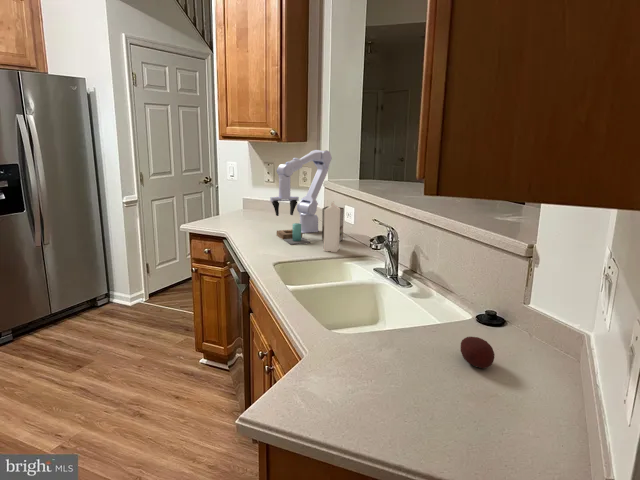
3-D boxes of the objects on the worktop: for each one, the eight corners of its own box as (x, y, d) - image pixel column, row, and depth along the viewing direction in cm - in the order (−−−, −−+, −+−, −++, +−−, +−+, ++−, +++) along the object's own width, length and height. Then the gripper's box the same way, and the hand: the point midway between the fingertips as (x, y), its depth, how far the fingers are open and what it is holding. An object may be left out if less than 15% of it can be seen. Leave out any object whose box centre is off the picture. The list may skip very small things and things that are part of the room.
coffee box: (343, 239, 230) (344, 207, 226) (338, 242, 225) (339, 209, 221) (326, 237, 234) (327, 205, 230) (321, 240, 228) (322, 207, 224)
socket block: (295, 234, 240) (295, 229, 240) (302, 238, 231) (302, 233, 231) (276, 235, 236) (276, 230, 236) (283, 239, 227) (283, 234, 227)
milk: (323, 251, 208) (324, 202, 202) (326, 248, 213) (327, 200, 208) (336, 252, 206) (337, 203, 201) (339, 249, 212) (340, 201, 207)
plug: (297, 239, 227) (297, 222, 225) (302, 240, 224) (303, 224, 222) (290, 240, 224) (290, 223, 222) (296, 241, 221) (296, 225, 219)
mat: (302, 238, 230) (302, 237, 230) (310, 243, 221) (310, 242, 221) (283, 240, 226) (283, 238, 226) (290, 244, 218) (290, 243, 217)
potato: (471, 375, 104) (474, 350, 103) (451, 354, 114) (453, 331, 113) (501, 372, 106) (504, 348, 104) (479, 352, 115) (481, 329, 114)
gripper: (295, 187, 238) (295, 213, 241) (268, 187, 232) (268, 214, 235) (300, 188, 231) (299, 215, 234) (272, 189, 226) (272, 216, 229)
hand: (284, 215), depth 234 cm, fingers open, 7 cm apart
